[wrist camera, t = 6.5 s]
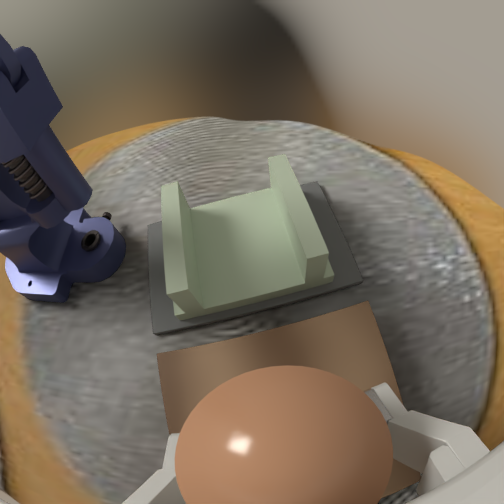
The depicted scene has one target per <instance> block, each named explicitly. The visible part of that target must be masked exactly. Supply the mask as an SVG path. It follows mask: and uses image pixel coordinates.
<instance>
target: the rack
mask: <svg viewBox="0 0 504 504" xmlns="http://www.w3.org/2000/svg"><path fill="white" fill-rule="evenodd" d="M268 165H269V174H270V182H271V188H268V189H264V190H260V191H256V192H251V193H247V194H243V195H240V196H236V197H232V198H228V199H224V200H220V201H216V202H213V203H209V204H205V205H202V206H198V207H194V208H191V209H190V207H189V205H188V203H187V201H186V199H185V196H184V194H183V192H182V190H181V188H180V185H179V183H178V181H177V182H173V183H170V184H167V185H163V186H161V209H162V235H163V254H164V269H165V281H166V293H167V295H168V296H169V297H170V298H171V299H172V300H173V306H174V314H175V316H176V317H177V318H178V319H179V320H185V319H189V318H194V317H198V316H203V315H207V314H211V313H216V312H220V311H224V310H228V309H233V308H237V307H241V306H245V305H249V304H253V303H257V302H261V301H265V300H268V299H272V298H276V297H280V296H284V295H287V294H291V293H295V292H298V291H302V290H306V289H309V288H313V287H316V286H320V285H323V284H327V283H330V282H333V278H334V273H333V270H332V267H331V265H330V262H329V260H328V255H329V252H328V249H327V247H326V244H325V242H324V240H323V237H322V235H321V232H320V230H319V228H318V225H317V223H316V221H315V218H314V216H313V214H312V212H311V209H310V207H309V205H308V202H307V200H306V198H305V196H304V194H303V191H302V189H301V187H300V185H299V183H298V181H297V178H296V176H295V174H294V172H293V170H292V168H291V166H290V164H289V161H288V159H287V157H286V155H285V154H282V155H278V156H273V157H269V158H268Z"/></svg>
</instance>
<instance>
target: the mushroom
mask: <svg viewBox="0 0 504 504" xmlns="http://www.w3.org/2000/svg"><path fill="white" fill-rule="evenodd" d="M392 464H393V445H392V439H391V434H390V431H389V428H388V425H387V423H386V421H385V419H384V417H383V415H382V413H381V411H380V410H379V409H378V407H377V406H376V405H375V403H374V402H373V401H372V400H371V399H370V398H369V397H368V396H367V395H366V394H365V393H364V392H363V391H362V390H361V389H359V388H358V387H357V386H355V385H354V384H352V383H351V382H349V381H347V380H345V379H344V378H342V377H340V376H337V375H335V374H332V373H330V372H327V371H323V370H320V369H316V368H311V367H304V366H290V365H285V366H272V367H266V368H261V369H256V370H253V371H250V372H246V373H243V374H241V375H239V376H236V377H234V378H232V379H230V380H228V381H226V382H225V383H223V384H221V385H219V386H218V387H217V388H215V389H214V390H213V391H211V392H210V393H208V394H207V395H206V396H205V397H204V398H203V399H202V400H201V401H200V402H199V403H198V404H197V406H196V407H195V408H194V409H193V410H192V412H191V413H190V415H189V416H188V418H187V420H186V421H185V423H184V425H183V427H182V429H181V432H180V434H179V437H178V441H177V445H176V451H175V474H176V479H177V483H178V486H179V489H180V492H181V495H182V497H183V499H184V500H185V502H186V504H378V502H379V501H380V499H381V497H382V496H383V494H384V491H385V489H386V487H387V485H388V482H389V479H390V475H391V471H392Z"/></svg>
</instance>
